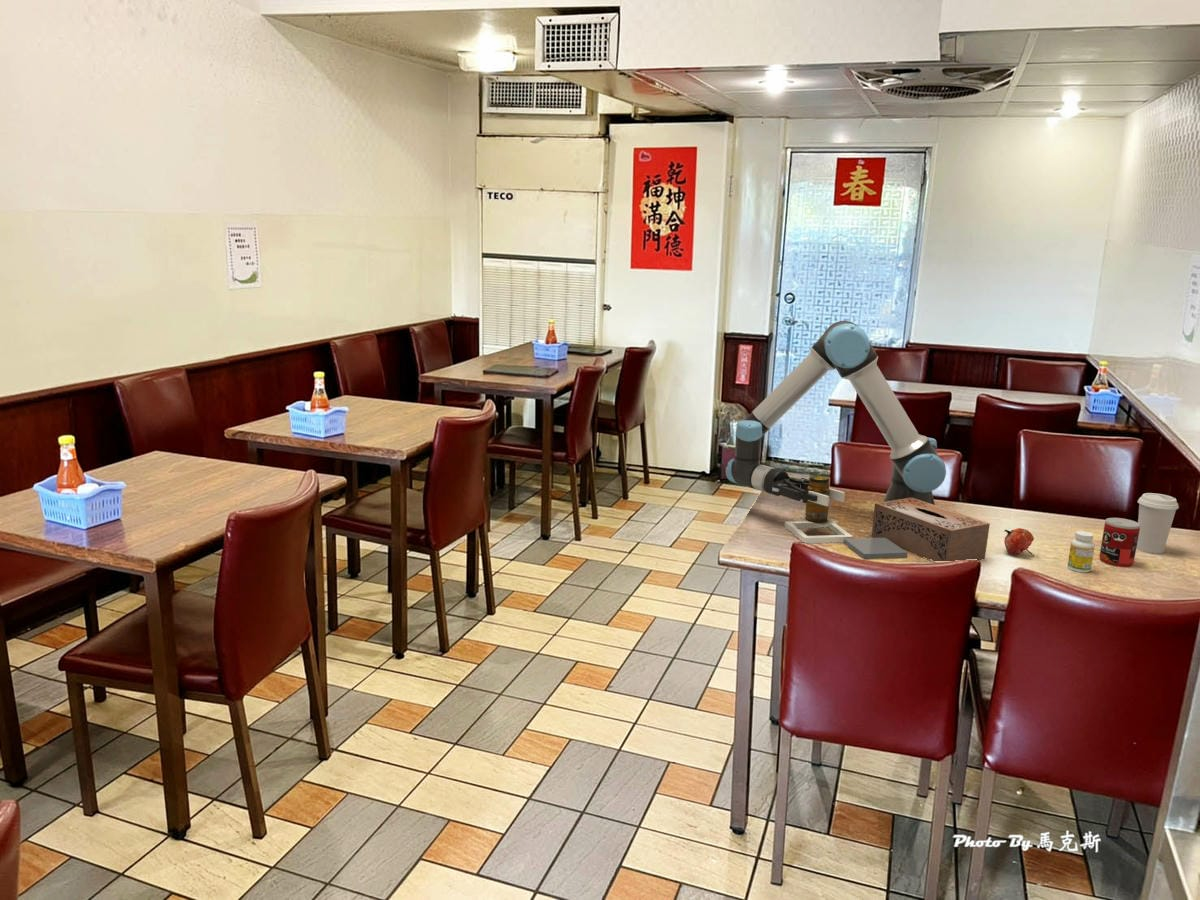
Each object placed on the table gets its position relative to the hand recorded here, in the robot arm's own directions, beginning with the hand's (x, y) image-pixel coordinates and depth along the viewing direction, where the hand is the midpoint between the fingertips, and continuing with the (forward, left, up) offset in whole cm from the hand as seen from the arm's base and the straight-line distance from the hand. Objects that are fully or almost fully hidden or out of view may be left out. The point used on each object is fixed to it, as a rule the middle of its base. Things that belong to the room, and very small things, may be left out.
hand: (835, 499), depth 245 cm
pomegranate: (-46, +16, -12) cm, 50 cm away
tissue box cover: (-23, +8, -12) cm, 28 cm away
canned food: (-69, +24, -12) cm, 74 cm away
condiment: (+2, -4, -8) cm, 9 cm away
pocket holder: (+2, -4, -11) cm, 12 cm away
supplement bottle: (-55, +28, -12) cm, 62 cm away
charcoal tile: (-8, +10, -11) cm, 17 cm away
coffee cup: (-86, +16, -12) cm, 88 cm away
